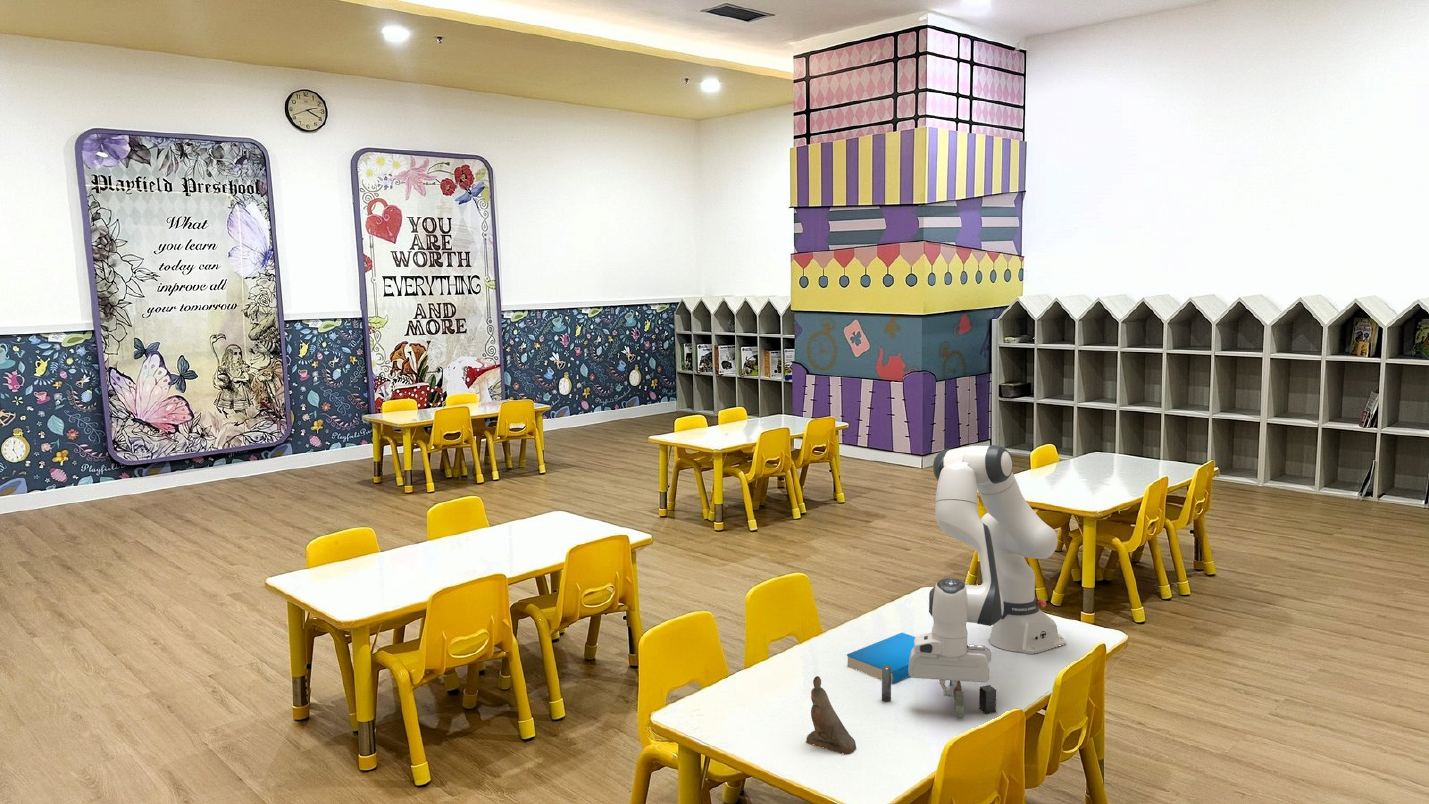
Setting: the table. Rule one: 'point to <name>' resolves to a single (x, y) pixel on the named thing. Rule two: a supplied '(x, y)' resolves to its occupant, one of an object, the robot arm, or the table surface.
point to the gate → (959, 699)
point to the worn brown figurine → (827, 724)
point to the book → (884, 657)
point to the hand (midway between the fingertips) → (947, 695)
